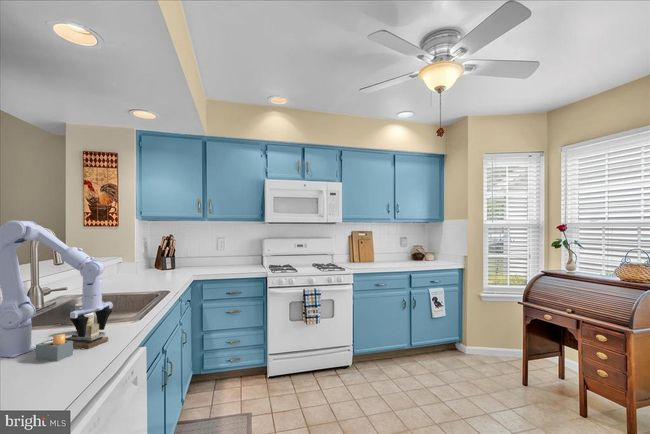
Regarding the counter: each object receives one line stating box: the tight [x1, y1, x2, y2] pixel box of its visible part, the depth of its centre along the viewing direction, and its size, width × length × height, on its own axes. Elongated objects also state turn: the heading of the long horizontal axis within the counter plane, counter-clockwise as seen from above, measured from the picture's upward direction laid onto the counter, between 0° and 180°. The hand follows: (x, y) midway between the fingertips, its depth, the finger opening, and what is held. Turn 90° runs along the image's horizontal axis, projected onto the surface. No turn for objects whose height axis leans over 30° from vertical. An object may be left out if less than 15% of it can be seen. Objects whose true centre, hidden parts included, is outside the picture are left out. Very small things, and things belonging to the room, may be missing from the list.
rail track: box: [65, 333, 109, 350], centre depth 115 cm, size 14×8×2 cm, turn 79°
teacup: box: [74, 300, 114, 321], centre depth 144 cm, size 14×11×8 cm
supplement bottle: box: [79, 307, 94, 325], centre depth 128 cm, size 5×5×10 cm
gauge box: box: [35, 338, 74, 362], centre depth 104 cm, size 8×5×5 cm, turn 79°
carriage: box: [77, 322, 106, 341], centre depth 115 cm, size 6×6×4 cm
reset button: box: [52, 333, 66, 346], centre depth 103 cm, size 3×3×5 cm
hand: (91, 333), depth 115 cm, fingers open, 7 cm apart
